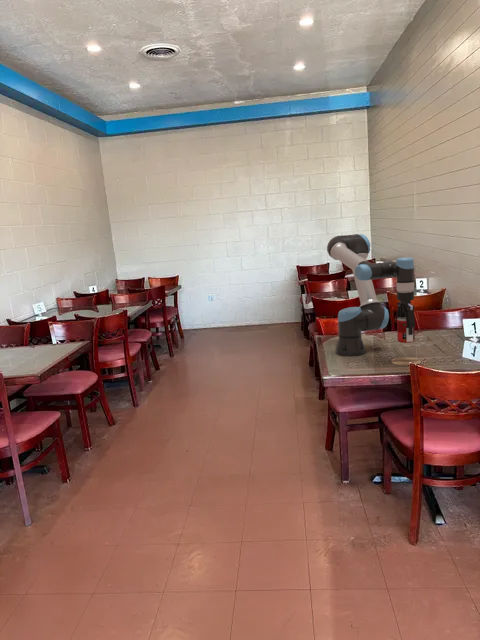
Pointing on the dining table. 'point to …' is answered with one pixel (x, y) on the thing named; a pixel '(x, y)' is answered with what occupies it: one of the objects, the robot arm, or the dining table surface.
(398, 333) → the canned food
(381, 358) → the dining table surface
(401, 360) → the disc
